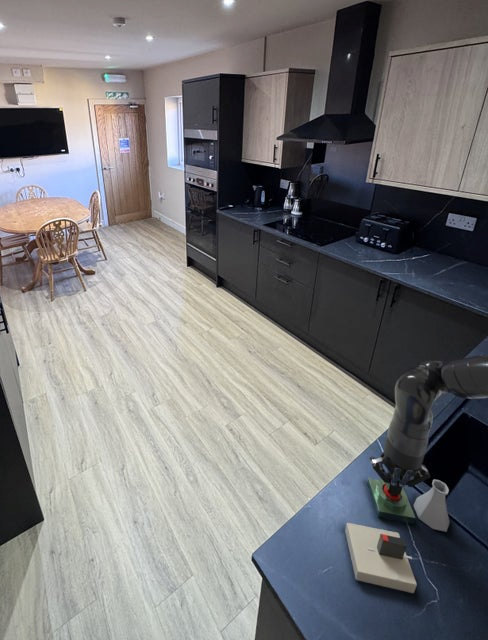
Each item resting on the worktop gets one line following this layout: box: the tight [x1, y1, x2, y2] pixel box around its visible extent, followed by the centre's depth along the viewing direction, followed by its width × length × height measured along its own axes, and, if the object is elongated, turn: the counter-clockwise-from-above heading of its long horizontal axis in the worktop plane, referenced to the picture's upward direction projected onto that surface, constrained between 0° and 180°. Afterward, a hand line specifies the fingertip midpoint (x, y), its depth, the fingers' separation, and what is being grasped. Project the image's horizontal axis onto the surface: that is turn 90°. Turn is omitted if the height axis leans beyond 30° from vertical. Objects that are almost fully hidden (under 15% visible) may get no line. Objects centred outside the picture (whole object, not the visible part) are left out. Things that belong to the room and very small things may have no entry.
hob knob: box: [377, 534, 407, 559], centre depth 69 cm, size 5×1×5 cm, turn 78°
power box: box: [366, 477, 416, 525], centre depth 81 cm, size 8×8×4 cm
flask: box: [413, 479, 451, 533], centre depth 77 cm, size 7×7×10 cm
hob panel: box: [344, 522, 418, 594], centre depth 70 cm, size 12×9×3 cm
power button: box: [383, 485, 401, 501], centre depth 81 cm, size 4×4×2 cm
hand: (392, 492), depth 80 cm, fingers closed
